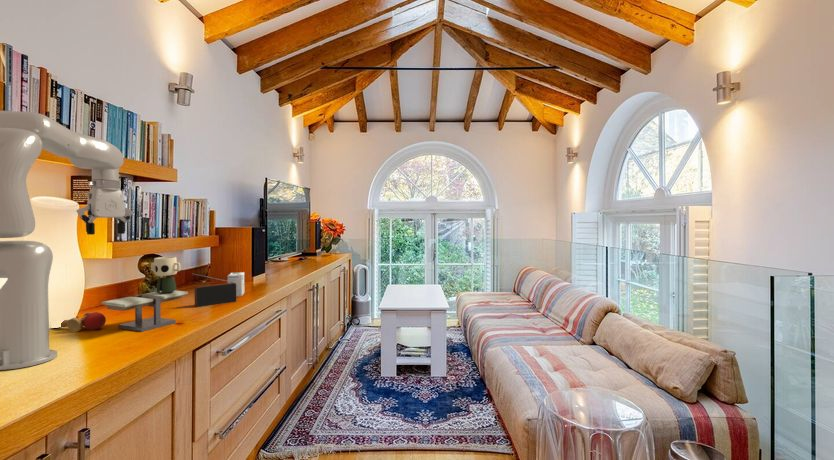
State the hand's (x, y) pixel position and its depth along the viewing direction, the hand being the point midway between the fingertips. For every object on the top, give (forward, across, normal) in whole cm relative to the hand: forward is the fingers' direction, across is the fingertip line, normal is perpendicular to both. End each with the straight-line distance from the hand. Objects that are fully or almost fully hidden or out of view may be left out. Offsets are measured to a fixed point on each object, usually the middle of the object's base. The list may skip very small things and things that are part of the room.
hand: (106, 234), depth 139 cm
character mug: (+22, +11, -16) cm, 29 cm away
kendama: (+33, -8, +2) cm, 34 cm away
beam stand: (+32, +4, -16) cm, 36 cm away
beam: (+25, +4, -15) cm, 30 cm away
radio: (+33, +39, -6) cm, 51 cm away
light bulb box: (+33, +60, +3) cm, 68 cm away
